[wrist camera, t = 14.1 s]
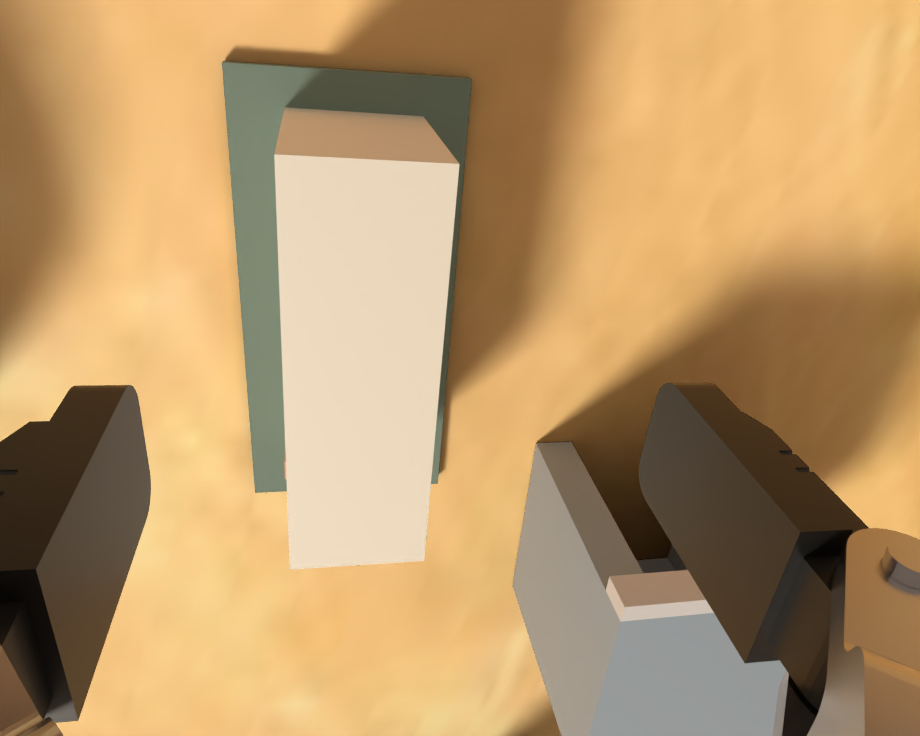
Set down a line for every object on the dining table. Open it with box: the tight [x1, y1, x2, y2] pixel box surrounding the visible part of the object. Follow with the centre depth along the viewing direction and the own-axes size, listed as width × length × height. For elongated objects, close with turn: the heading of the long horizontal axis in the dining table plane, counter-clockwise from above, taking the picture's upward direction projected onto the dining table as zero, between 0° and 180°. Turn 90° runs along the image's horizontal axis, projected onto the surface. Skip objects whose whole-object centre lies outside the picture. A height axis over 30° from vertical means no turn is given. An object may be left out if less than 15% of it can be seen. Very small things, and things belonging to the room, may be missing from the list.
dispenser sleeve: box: [513, 442, 786, 736], centre depth 27 cm, size 9×9×9 cm
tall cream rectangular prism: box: [274, 107, 459, 570], centre depth 20 cm, size 4×12×6 cm, turn 174°
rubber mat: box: [222, 61, 472, 493], centre depth 23 cm, size 7×15×1 cm, turn 175°
